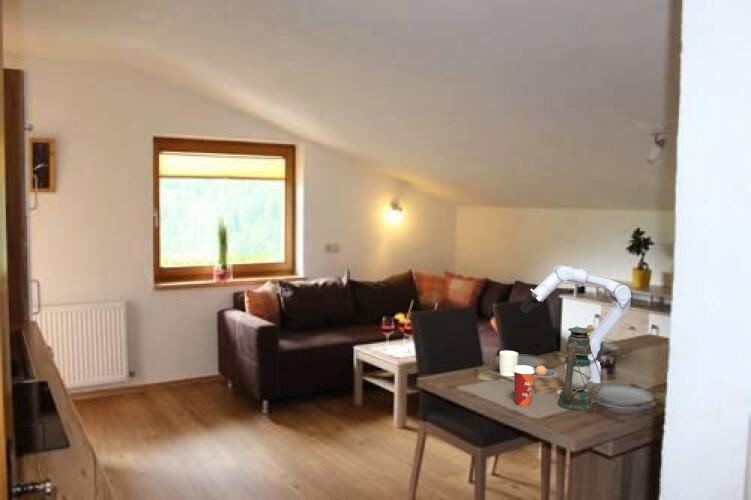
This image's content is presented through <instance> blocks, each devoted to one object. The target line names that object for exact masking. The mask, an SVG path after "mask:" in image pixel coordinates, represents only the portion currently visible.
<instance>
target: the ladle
mask: <svg viewBox="0 0 751 500" xmlns="http://www.w3.org/2000/svg"><path fill="white" fill-rule="evenodd" d="M587 390H588V391H589V392H590V389H588V388H587ZM587 390H586V389H585V392H587V393H589V392H588V391H587ZM561 391H563V390H557V394H556V395H559V396H560V392H561Z"/></svg>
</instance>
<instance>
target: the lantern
mask: <svg viewBox="0 0 751 500" xmlns="http://www.w3.org/2000/svg"><path fill="white" fill-rule="evenodd" d="M585 328H586V327H580V326H578V325H577V326H573V327H569V328H567V330H568V331H569V332H570V335H568V338H567V342H566V343H565V349H564V350H563V351H564V352H566V353H567V356H566V357H565V360H564V367H563V371H562V372H563V374H562V376H563V381H564V382H565V387H564V388H562V390H563V391H561V392H560V395H559V398H558V400H557V406H558V407H560V408H562V409H563V410H567V411H572V412H589V411H588V410H590V411H592V410H593V409H594V404H593V402H592V394H593V395H594V394H595V393H596V394H598V392H599V390H601V388H602V386H603V379H602V376H601V374H600V372H599V370H598V372H599V376H600V382H601V383H600V387H598V388H597V389H596V390H594V391H593V392H590V390H589V389H588V388H587V386H588V381H590V379H591V376H592V372H591V370H590V365H591V363H590V359H588V355H590V354H592V351H591V345H590V338H589V337H587V336H588V335H587V333H590V332H591V331H590V330H588V329H585ZM592 356H593V354H592ZM593 359H594V356H593ZM594 361H595V359H594ZM595 364H596V361H595ZM596 367H597V364H596ZM597 369H598V367H597ZM590 373H591V375H590ZM590 382H591V381H590ZM585 389H586V390H587V389H588V390H589V391H588V390H587V391H588V392H585ZM592 408H593V409H592ZM591 409H592V410H591Z"/></svg>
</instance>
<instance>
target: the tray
mask: <svg viewBox="0 0 751 500" xmlns="http://www.w3.org/2000/svg"><path fill="white" fill-rule="evenodd" d="M564 387H565V380H564V379H562V378H561V377H558V376H557V377H550V378H545V377H533V384H532V390H533V393H534V394H536V395H537V394H539V395H540V394H542V395H543V394H546V395H547V394H548V395H551V394H552V395H558V394H557V390H562V388H564Z"/></svg>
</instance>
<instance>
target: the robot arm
mask: <svg viewBox="0 0 751 500" xmlns="http://www.w3.org/2000/svg"><path fill="white" fill-rule="evenodd" d="M565 281H567V282H571V283H575V284H579V285H584V284H586V283H589V284H593V285H595V286H596V285H597V286H600V287H603V288H604V290H606V291H607V294H608V295H609V297H610V299H611V302H612V308H611V309H610V310H609V312H608V313H607V314H606V315H605V316H604V318H603V319H601V320H600V321H601V322H599V324H598V325H597V327H595V328H594V329H595V330H594V331H593V333H592V334H591V335H590V336H589V338H590V345H591V351H592V354H593V356H594V359H596V357H597V353H598V351H599V350H600V344H601V343H602V342H603V343H604V341H605V339H606V338H607V336H609V334H610V333H611V332H612V331H613V329H614V328H615V327H616V325H618V323H619V322H620V320H622V318H623V317H624V316H625V314H626V313H627V312H628V310H629V304H630V299H631V298H632V297H633V296H632V293H631V290H630V287H628V286H627V285H624V284H621V283H619V282H617V281H615V280H612V279H610V278H606V277H602V276H601V277H600V276H596V275H591V274H588V272H587V271H586V270H584V268H581V267H579V268H575V267H572V266H571V265H568V266H565V265H562V264H558V265H557V266H554V267H553V269H552V272H550V274H549V275H547V277H546V278H544V280H542V282H541V283H540V284H538V285H537V286H536V287H535V288H534V289H533V288H530V289H529V290H530V291H531V293H532V294H528V293H527V294H526V297H525V299H524V300H523V302H522V304H521V305H520V307H519V310H520V311H521V312H523V313H524V314H527V313H530V311H532V310H533V309H536V308H537V307H540V306H542V304H541V303H543V302H544V300H545V299H547V297H549V295H551V294H552V293H553V292H554V291H555V290H556V289H557V288H558V287H559V286H560V285H561V284H562V283H563V282H565ZM540 302H541V303H540ZM592 354H590V355H588V359H590V363H591V365H590V370H591V372H592V376H591V379H590V381H588V382H592V383H593V384H601V379H600V376H601V375H602V374H601V372H602V371H601V370H602V369H601V368H602V364H601V365H600V362H599V361H598V360H595V361H596V364H597V367H598V369H597V367H596V364H595V361H594V359H593V356H592ZM598 370H599V372H600V376H599V372H598ZM590 375H591V373H590Z"/></svg>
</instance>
